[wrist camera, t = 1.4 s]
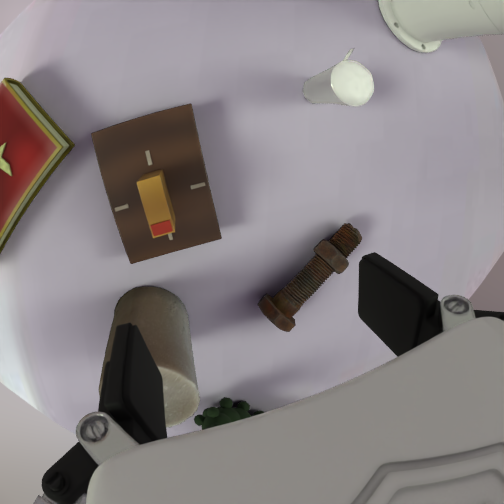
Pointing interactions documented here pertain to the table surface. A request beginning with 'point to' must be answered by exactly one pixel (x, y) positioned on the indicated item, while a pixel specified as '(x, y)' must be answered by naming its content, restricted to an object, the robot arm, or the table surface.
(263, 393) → the table surface
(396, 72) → the table surface
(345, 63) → the milkshake
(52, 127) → the hardcover book
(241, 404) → the toy figurine
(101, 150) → the lock plate
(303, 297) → the bolt
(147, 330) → the pillar candle
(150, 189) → the thumbturn
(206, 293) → the table surface
